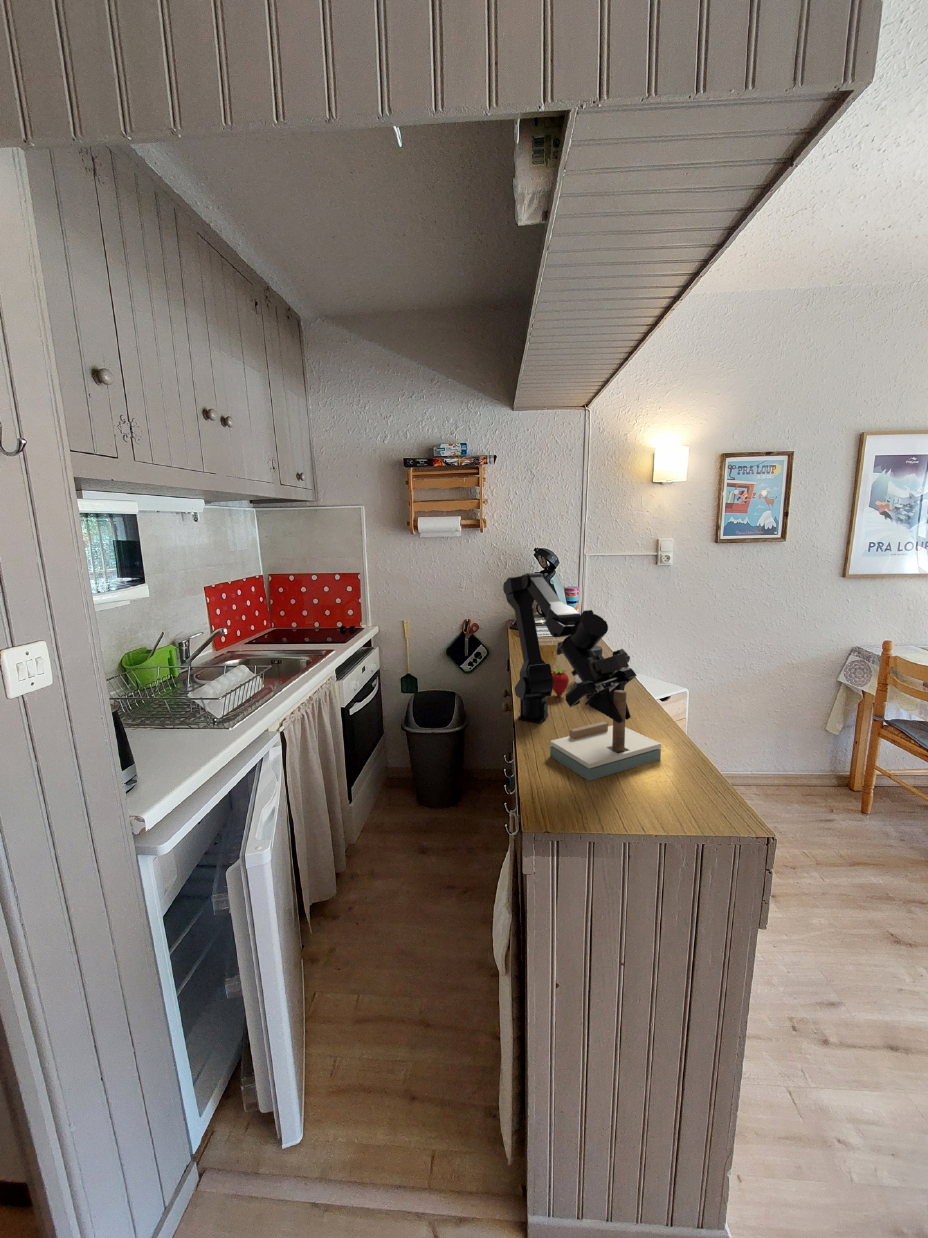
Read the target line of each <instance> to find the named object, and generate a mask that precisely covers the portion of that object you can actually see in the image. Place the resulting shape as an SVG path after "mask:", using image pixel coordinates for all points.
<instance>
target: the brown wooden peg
mask: <svg viewBox="0 0 928 1238" xmlns="http://www.w3.org/2000/svg"><path fill="white" fill-rule="evenodd" d="M626 703H627V691H626V690H624V691H623V690H615V691H614V705H615V707H616V708H617V710H618V712H619V713H620V715H621V717H622V719H623V721H622V722H621V723H618V722H616V721H614V720H613V719H612V725H613V738H612V748H613V749H614V750H619V751H621V750H624V747H625V727H626Z"/></svg>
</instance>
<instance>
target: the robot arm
mask: <svg viewBox="0 0 928 1238" xmlns="http://www.w3.org/2000/svg"><path fill="white" fill-rule="evenodd" d="M502 588H503V593H504V594H505V598H506V601H507V603H508V604H509V605H510V607H511V608H512V609H513V610H514V613H515V619H516V624H517V625H516V627H517V631H518V637H519V642H520V649H521V654H522V659H523V662H522V665H521V668H520V670H519V680H518V681H517V683H516V685H515V686H514V693H515V694H514V695H515V696H516V698H519V702H520V704H519V705H520V706H519V708H520V709H519V710H520V711H519V713H520V714H519V715H518V716H517V720H521V721H526V722H530V723H531V722H532V723H537V724H541V723H542V722H543V721H544V720H545V719H546V718H548V716H549V712H548V711H549V708H548V707H549V704H548V703H549V702H548V701H547V697H551V696H552V693H553V684H554V680H553V676H552V673H553V672H551V671H552V667H551V664H550V663H548V662H546V661H544V659H543V657H542V653H541V647H540V643H539V636H538V631H537V625H536V620H535V615H534V609H533V605H534V602H536V604H537V605H538V606H539V607H540V609H541V610H542V612H543V614H544V615H545V617H546V619H545V625H546V628H547V631H548V632H549V634H550V635H551V636H552V637H553V638H564V637H565V638H564V639H563V640H562V641H560V642H557V644H556V645H557V648H556V654H557V656H559V655H563V656H564V657H565V658H566V660H567V662H568V663H569V664H570V666H571V668H572V669H573V670H572V671H571V675H572V676H573V677H576V675H578V676H579V678H580V679H581V681H582V682H581V683H576V685H574V686H573V687H572V688H571V689H569V691H568V692H566V693H565V701H566V703H567V705H568V707H570V708H574V707H576V706H579V704H581V700H582V698H585V697H586V699H587V701H586V702H585V703H584V705H585V706H586V707H587V706H588V707H590V708H593V709H594V710H596V711H598V712H600V713H601V714H603V715H604V716H607V717H608V718H609V719H611V720H612V721H613V720H614V721H616V722H618V723H621V722H622V721H623V719H622V717H621V715H620V713H619V712H618V710H617V708H616V707H615V705H614V691H615V690H623V691H625V687H626V685H628V684H629V683H630V682H632V680H634V679H635V678H636V677H637V673H636V672H635V671H634V669H633V668H630V665H629V662H630V659H631V656H630V655H629V654H628V653H627V652H626V651H625V649H624V648H620V649H617V650H614V651H613V652H612V655H611V656H608V657H606V658H605V657H604V655H603V654H602V655H603V656H602V655H600V654H599V655H595V653H594V652H593V651H592V648H594V647H595V646H598V644H599V642H600V641H601V640H602V638H604V636H605V635H606V634H607V632H608V631H609V625H608V622H607V621H606V620H605V619H604V618H603V617H601V616H600V615H598V614H595V613H594V611H593V610H592V609H587V610H583V611H582V613H580V612H578V610H576V609H575V608H574V607H573V606H570V605H568V604H566V603H564V602H562V600H561V599H560V598H559V597H558V595H557V594H556V592H555V591H554V590H553V589H552V587H551V586H550V585H549V583H548V582H547V581H546V579H545V576H544V574H543V573H540V572H529V573H527V572H526V573H525V574H521V575H520V576H511V577H510V576H509V577H507V578H506V581H504V582H503V587H502ZM615 671H617V672H615ZM611 675H612V676H611ZM610 676H611V677H610ZM604 684H605V685H604ZM630 718H631V714H630V709H629V708H628V704H627V702H626V719H625V721H626V720H627V721H628V720H630Z"/></svg>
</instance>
